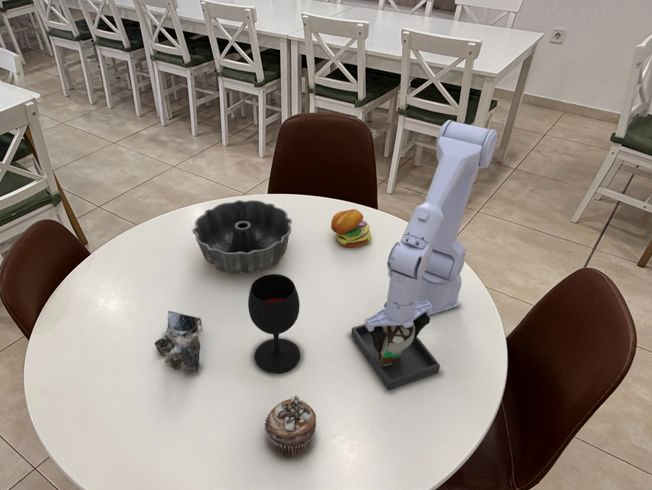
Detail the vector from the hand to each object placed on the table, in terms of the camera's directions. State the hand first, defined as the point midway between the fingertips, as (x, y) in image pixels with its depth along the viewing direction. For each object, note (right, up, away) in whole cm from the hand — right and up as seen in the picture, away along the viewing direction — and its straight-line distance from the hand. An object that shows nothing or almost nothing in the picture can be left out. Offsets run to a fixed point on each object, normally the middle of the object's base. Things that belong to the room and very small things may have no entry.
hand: (393, 343), depth 108 cm
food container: (0, -2, +2) cm, 3 cm away
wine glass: (-25, -3, +3) cm, 26 cm away
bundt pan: (-35, +23, +31) cm, 52 cm away
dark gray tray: (0, -2, +3) cm, 4 cm away
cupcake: (-23, -18, -12) cm, 31 cm away
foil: (-47, -2, +5) cm, 47 cm away
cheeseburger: (-5, +28, +35) cm, 45 cm away
